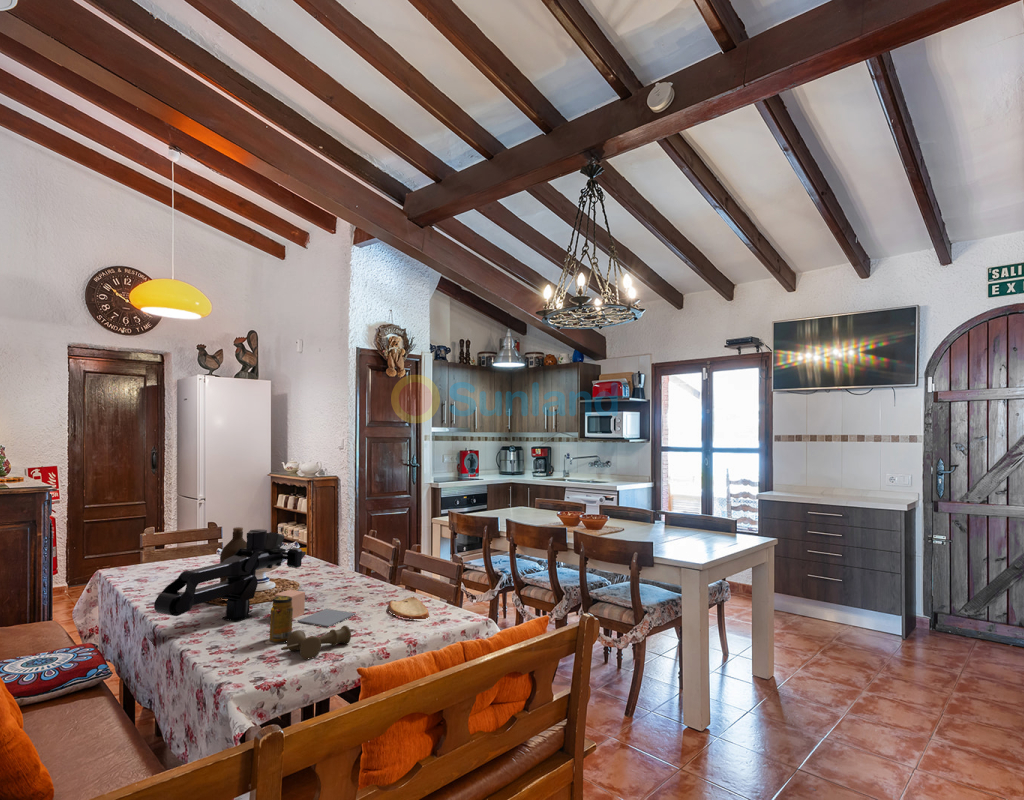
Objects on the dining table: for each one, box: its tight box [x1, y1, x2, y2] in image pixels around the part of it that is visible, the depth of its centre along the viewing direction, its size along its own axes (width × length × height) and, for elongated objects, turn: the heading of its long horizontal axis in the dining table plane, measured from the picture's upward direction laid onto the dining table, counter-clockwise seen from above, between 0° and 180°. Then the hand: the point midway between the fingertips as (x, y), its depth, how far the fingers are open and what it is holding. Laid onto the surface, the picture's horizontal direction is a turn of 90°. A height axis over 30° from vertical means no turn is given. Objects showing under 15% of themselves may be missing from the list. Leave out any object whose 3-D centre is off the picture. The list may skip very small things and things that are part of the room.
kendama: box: [280, 625, 352, 660], centre depth 163 cm, size 6×10×20 cm
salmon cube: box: [274, 589, 306, 620], centre depth 192 cm, size 7×7×7 cm
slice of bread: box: [387, 596, 430, 619], centre depth 200 cm, size 18×18×4 cm
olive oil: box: [219, 526, 247, 599], centre depth 210 cm, size 11×11×25 cm
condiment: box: [264, 596, 293, 645], centre depth 171 cm, size 7×8×12 cm
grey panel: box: [297, 608, 357, 628], centre depth 190 cm, size 14×12×1 cm
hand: (295, 551), depth 213 cm, fingers open, 9 cm apart
